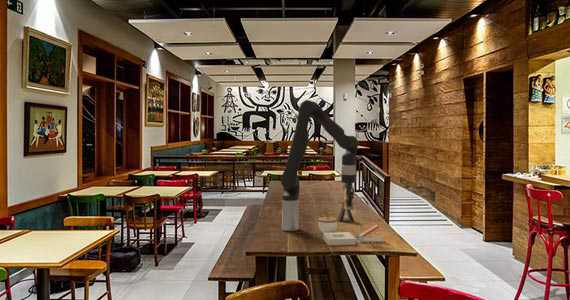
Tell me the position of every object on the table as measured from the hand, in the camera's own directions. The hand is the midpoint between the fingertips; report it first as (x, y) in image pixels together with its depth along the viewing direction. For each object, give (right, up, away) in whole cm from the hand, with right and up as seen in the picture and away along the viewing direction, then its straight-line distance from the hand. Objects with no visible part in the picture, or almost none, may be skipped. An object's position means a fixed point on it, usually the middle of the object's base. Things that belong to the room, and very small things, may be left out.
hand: (348, 205), depth 230 cm
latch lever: (+10, -13, -6) cm, 18 cm away
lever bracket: (+10, -17, -6) cm, 21 cm away
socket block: (-6, -17, -7) cm, 20 cm away
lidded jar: (-10, -17, +12) cm, 23 cm away
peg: (0, -2, 0) cm, 2 cm away
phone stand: (+5, -15, +44) cm, 47 cm away
